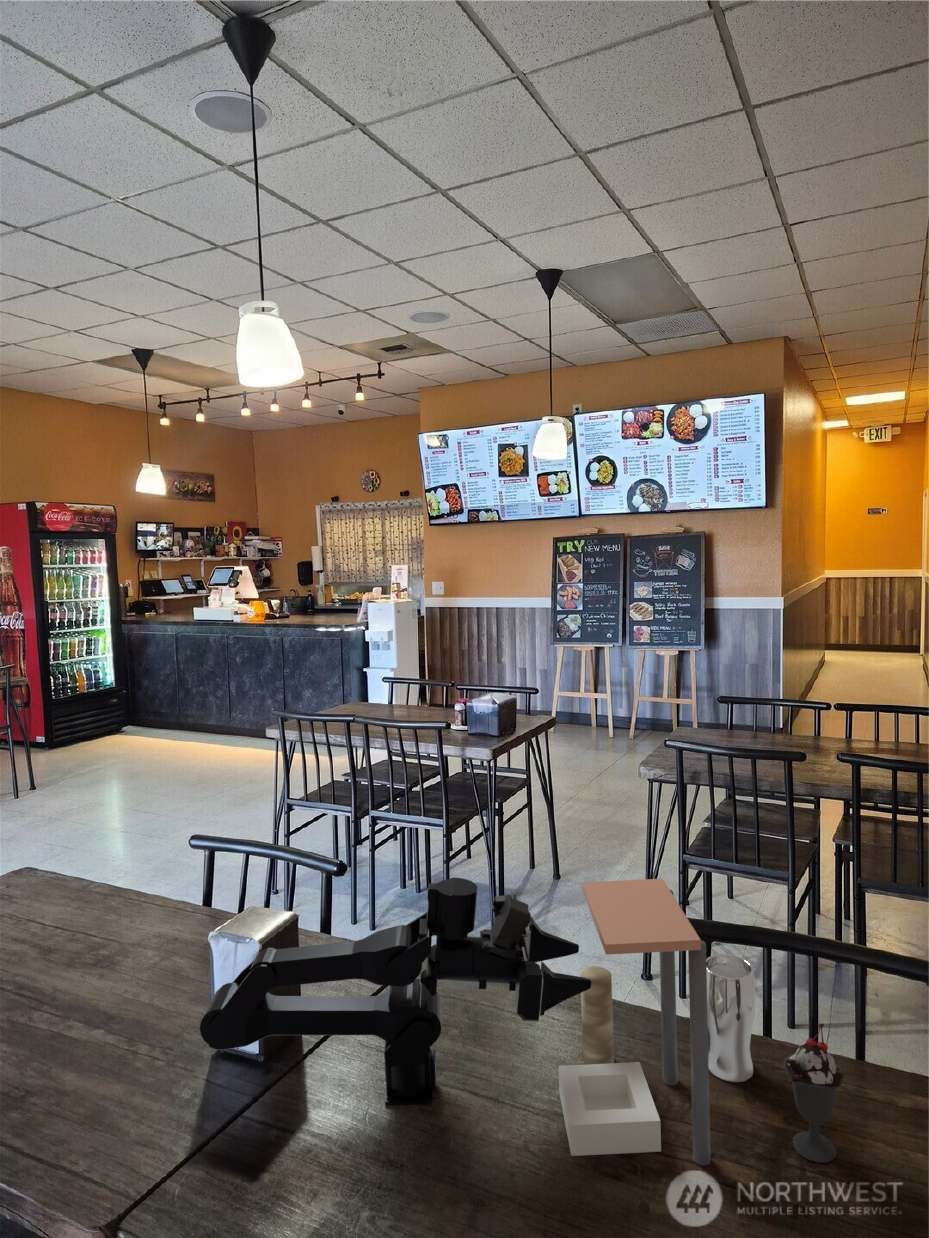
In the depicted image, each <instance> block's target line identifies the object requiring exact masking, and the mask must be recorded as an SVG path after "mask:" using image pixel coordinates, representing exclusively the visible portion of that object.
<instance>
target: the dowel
mask: <svg viewBox="0 0 929 1238" xmlns="http://www.w3.org/2000/svg"><path fill="white" fill-rule="evenodd" d="M579 975H580V976H579V977H583V978H587V979H590V980H591V988H590V989H588V990H586V991H584V992H582V993H580V1002H581V1003H580V1005H581V1029H582V1034H581V1035H582V1036H581V1037H582V1057H583V1059H582V1060H583V1065H588V1064H609V1063H615V1044H614V1043H615V1042H614V1018H613V1017H614V1015H613V1014H614V1012H613V1009H614V1008H613V983H612V980H613V979H612V972H611V971H610V970H609V969H607V968H605V967H601V966H599V965H597V966H596V965H595V966H594V965H593V966H587V967H585V968H583V969H581V971H580V973H579Z"/></svg>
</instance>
